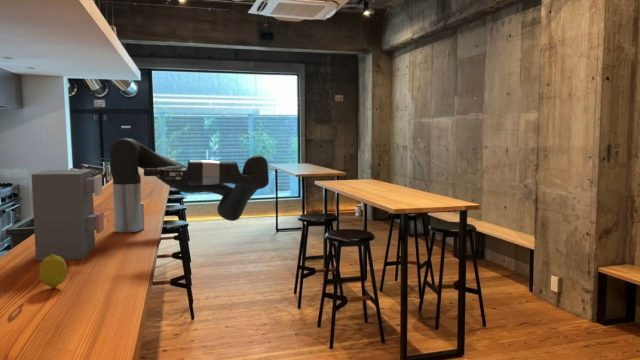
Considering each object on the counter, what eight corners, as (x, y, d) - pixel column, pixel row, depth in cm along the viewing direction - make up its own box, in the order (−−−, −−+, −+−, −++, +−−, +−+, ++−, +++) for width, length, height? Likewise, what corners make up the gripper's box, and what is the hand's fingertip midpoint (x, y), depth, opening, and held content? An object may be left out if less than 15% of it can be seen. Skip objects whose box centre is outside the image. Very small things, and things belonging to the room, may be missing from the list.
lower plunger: (103, 229, 140) (103, 211, 139) (99, 233, 134) (99, 214, 134) (71, 230, 137) (70, 212, 137) (65, 234, 132) (64, 215, 132)
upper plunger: (102, 193, 138) (101, 175, 138) (98, 195, 133) (97, 176, 133) (69, 193, 136) (68, 175, 136) (63, 196, 131) (63, 177, 130)
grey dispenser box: (95, 246, 143) (92, 169, 141) (83, 258, 130) (80, 173, 127) (52, 248, 141) (48, 170, 138) (36, 261, 127) (31, 174, 125)
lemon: (55, 293, 102) (53, 258, 102) (34, 291, 103) (32, 256, 103) (73, 285, 108) (71, 251, 107) (52, 283, 109) (51, 250, 108)
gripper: (204, 187, 136) (141, 187, 132) (203, 182, 149) (146, 182, 145) (203, 161, 135) (141, 161, 131) (203, 158, 148) (146, 158, 144)
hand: (144, 172), depth 138 cm, fingers closed
